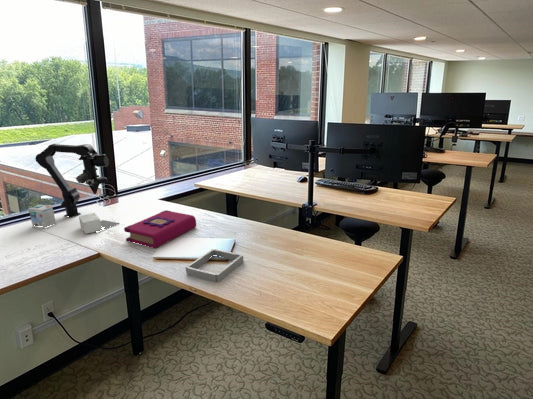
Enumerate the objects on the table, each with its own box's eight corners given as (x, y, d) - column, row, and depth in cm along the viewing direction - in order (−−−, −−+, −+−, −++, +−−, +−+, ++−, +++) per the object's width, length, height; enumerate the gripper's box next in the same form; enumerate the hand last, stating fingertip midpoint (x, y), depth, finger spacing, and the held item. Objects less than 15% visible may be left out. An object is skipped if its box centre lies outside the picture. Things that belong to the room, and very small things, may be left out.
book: (197, 228, 197) (195, 214, 194) (156, 250, 174) (153, 234, 172) (167, 222, 207) (165, 209, 205) (125, 241, 185) (122, 227, 182)
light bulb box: (32, 226, 209) (27, 208, 206) (43, 222, 215) (38, 204, 212) (46, 228, 205) (41, 209, 202) (57, 224, 211) (52, 205, 208)
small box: (80, 227, 205) (85, 234, 194) (78, 215, 203) (82, 222, 192) (97, 223, 209) (102, 230, 198) (94, 212, 207) (99, 218, 197)
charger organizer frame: (185, 274, 150) (184, 267, 149) (213, 254, 166) (212, 248, 165) (218, 282, 143) (217, 275, 142) (244, 261, 158) (243, 254, 158)
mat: (80, 229, 202) (80, 228, 202) (103, 220, 213) (103, 219, 213) (97, 233, 196) (97, 232, 196) (119, 223, 207) (119, 223, 207)
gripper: (66, 169, 213) (72, 196, 218) (87, 171, 204) (93, 199, 208) (84, 164, 222) (89, 190, 227) (105, 167, 212) (110, 194, 217)
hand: (95, 193), depth 220 cm, fingers closed
